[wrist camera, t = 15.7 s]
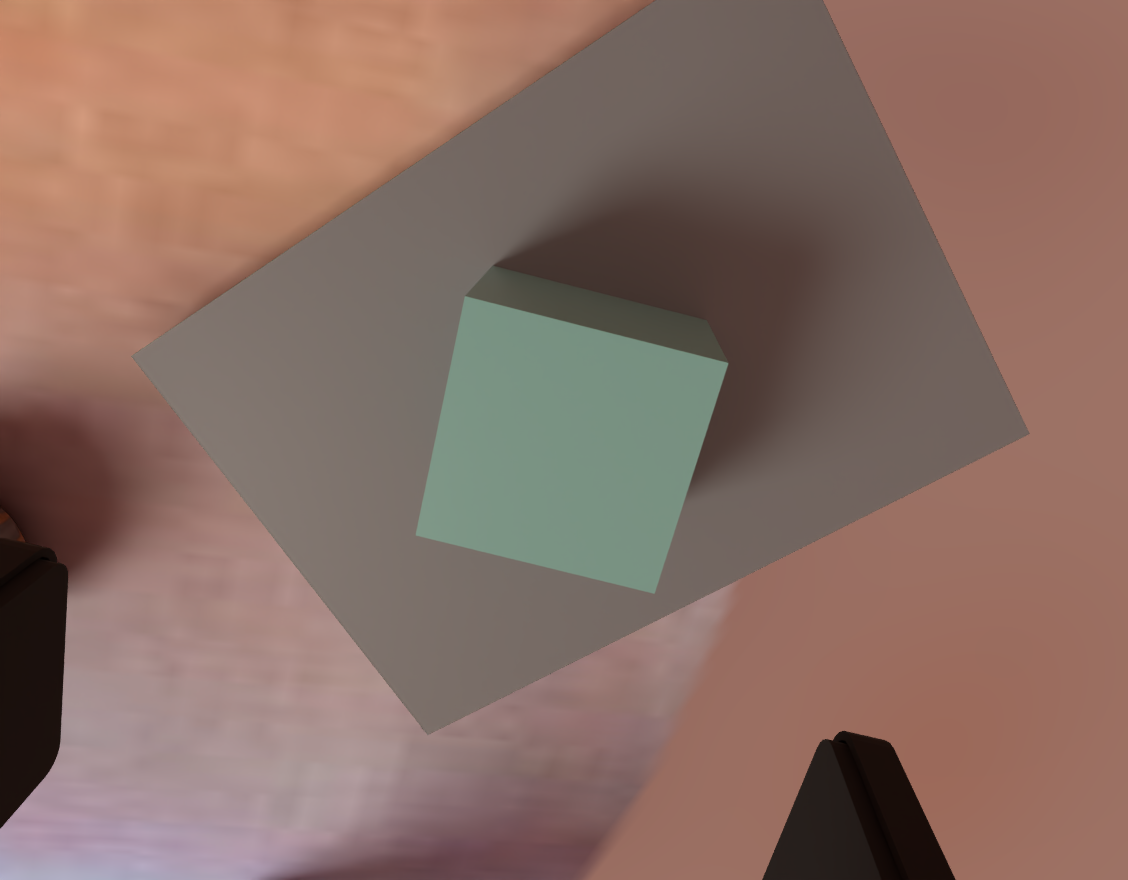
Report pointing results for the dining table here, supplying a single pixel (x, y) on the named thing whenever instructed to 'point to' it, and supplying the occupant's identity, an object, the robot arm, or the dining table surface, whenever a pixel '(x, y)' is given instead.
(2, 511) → the vase
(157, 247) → the dining table surface
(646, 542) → the seafoam cuboid
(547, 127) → the post base
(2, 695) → the robot arm
